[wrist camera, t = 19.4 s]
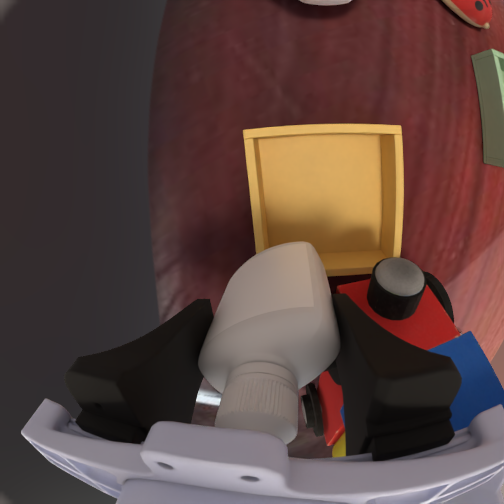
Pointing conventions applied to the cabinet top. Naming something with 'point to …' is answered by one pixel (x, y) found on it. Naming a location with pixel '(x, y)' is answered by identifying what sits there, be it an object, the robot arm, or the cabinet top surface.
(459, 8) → the ladybug figurine
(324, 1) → the white lumpy ball
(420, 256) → the cabinet top surface
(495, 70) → the sage bin
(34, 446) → the robot arm
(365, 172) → the ochre bin
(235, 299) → the eye dropper bottle
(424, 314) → the toy train
